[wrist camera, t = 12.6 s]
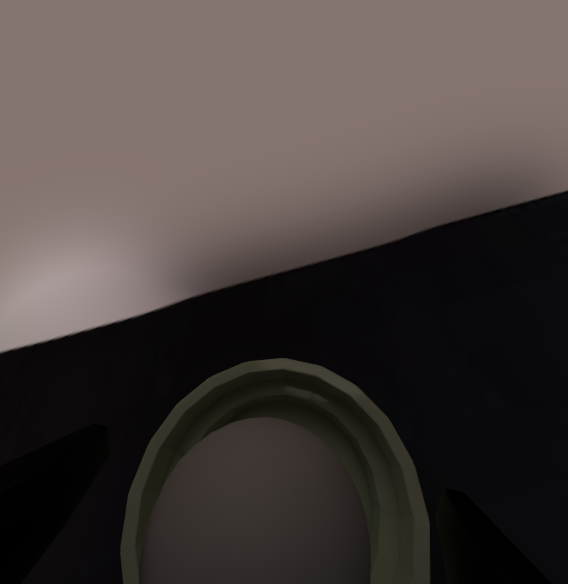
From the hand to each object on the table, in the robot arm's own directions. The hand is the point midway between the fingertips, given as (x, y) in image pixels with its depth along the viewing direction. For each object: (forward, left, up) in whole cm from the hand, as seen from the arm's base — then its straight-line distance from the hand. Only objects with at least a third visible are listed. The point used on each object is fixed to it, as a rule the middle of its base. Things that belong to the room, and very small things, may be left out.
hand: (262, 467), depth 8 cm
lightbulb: (-1, -1, -10) cm, 10 cm away
